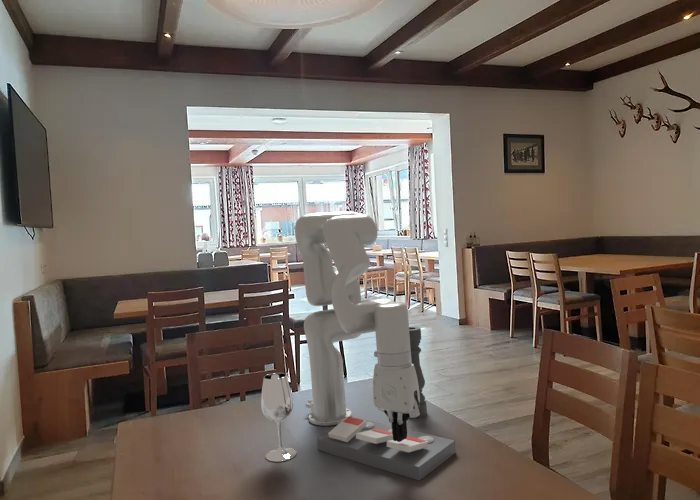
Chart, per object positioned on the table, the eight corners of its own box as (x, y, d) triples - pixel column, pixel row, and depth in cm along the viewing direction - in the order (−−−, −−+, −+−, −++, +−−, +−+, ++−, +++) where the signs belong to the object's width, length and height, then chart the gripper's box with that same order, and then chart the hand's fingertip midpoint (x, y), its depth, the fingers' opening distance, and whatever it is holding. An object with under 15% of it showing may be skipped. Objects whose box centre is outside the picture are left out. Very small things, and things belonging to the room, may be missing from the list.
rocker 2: (355, 438, 126) (356, 432, 126) (376, 433, 132) (376, 428, 132) (376, 443, 122) (376, 437, 122) (396, 438, 128) (396, 433, 128)
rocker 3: (386, 446, 120) (386, 440, 120) (406, 441, 126) (406, 435, 126) (408, 452, 116) (409, 446, 116) (428, 446, 122) (428, 440, 122)
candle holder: (426, 418, 149) (420, 330, 148) (404, 417, 150) (398, 331, 149) (427, 410, 155) (422, 326, 154) (406, 410, 157) (401, 326, 155)
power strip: (305, 446, 136) (304, 433, 136) (345, 425, 148) (344, 413, 148) (419, 480, 113) (418, 465, 113) (455, 452, 126) (454, 439, 126)
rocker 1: (329, 437, 132) (328, 432, 131) (348, 420, 138) (347, 415, 137) (347, 442, 128) (346, 437, 127) (366, 424, 134) (365, 420, 133)
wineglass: (302, 449, 134) (296, 371, 133) (288, 463, 126) (282, 381, 125) (274, 447, 136) (268, 371, 135) (259, 460, 129) (253, 380, 128)
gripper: (357, 358, 120) (363, 438, 120) (413, 366, 110) (419, 452, 111) (377, 351, 125) (383, 427, 126) (432, 357, 116) (437, 440, 116)
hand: (400, 439), depth 118 cm, fingers closed
